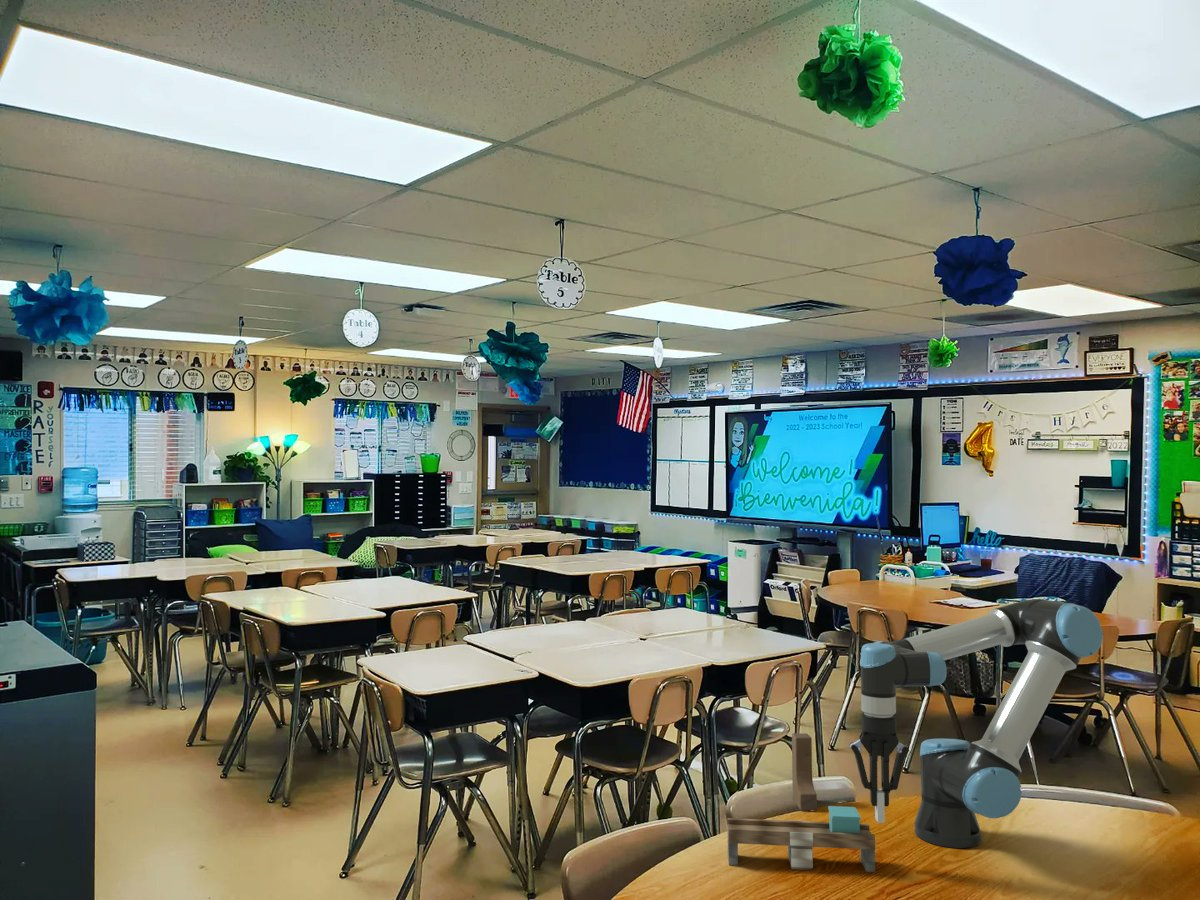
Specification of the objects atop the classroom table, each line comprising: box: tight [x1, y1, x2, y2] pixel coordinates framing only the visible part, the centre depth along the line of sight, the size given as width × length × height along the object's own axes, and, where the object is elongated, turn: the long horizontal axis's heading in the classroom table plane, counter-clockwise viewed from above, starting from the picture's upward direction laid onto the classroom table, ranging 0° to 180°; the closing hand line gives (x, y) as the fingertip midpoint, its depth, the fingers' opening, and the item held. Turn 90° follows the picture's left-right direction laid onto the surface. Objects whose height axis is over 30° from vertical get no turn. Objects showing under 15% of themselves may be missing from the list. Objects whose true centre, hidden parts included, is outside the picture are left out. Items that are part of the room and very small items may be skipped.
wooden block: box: [791, 732, 818, 812], centre depth 229 cm, size 9×4×18 cm, turn 0°
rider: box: [827, 805, 862, 833], centre depth 191 cm, size 6×6×5 cm
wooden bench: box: [726, 817, 876, 873], centre depth 192 cm, size 32×7×8 cm, turn 84°
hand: (879, 820), depth 190 cm, fingers closed
